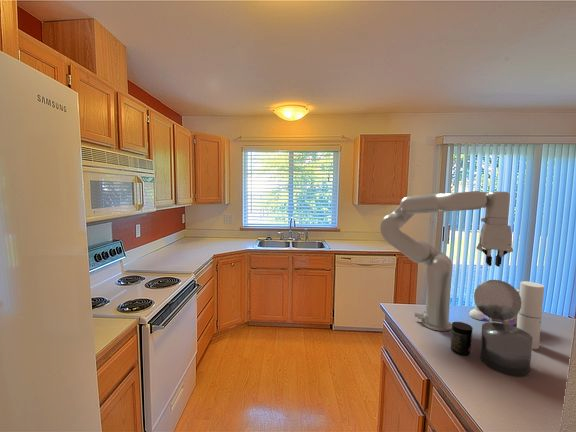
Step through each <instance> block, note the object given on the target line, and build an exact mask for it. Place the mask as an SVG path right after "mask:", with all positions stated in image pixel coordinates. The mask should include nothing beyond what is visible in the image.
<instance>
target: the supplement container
mask: <svg viewBox="0 0 576 432" xmlns="http://www.w3.org/2000/svg"><path fill="white" fill-rule="evenodd" d="M451 324H452V329H451V334H450V335H451V336H450V350H451V351H452V352H453V354H456V355H458V356H462V357H468V356H470V355H471V354H472V343H473V341H472V340H473V326H472V325H471V324H468V323H466V322H461V321H454V322H451Z"/></svg>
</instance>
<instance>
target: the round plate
mask: <svg viewBox="0 0 576 432" xmlns="http://www.w3.org/2000/svg"><path fill="white" fill-rule="evenodd" d="M516 289H517V288H515V286H513V285H512V284H510V283H508V282H506V281H504V280H499V279H489V280H485V281H483V282H481V283H480V284H478V286H477V287H476V288H475V289H474V293H473V300H474V304H475V306H477V308H478V309H479V310H480V311H481V312H482V313H483V314H484V315H485V317H488V318H489V317H490V318H491V321H495V322H503V323H505V320H508V319H511V318H513V317H515V316H516V315H517V314H518V313H519V311H520V309H521V304H522V302H521V297H520V295H519V293H518V292H517V290H516Z"/></svg>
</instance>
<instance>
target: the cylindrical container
mask: <svg viewBox="0 0 576 432" xmlns="http://www.w3.org/2000/svg"><path fill="white" fill-rule="evenodd" d="M519 290H520V293H519V295H520V297H521V302H522V304H521V309H520V311H519V313H518V317H517V325H516V328H519V329H521V330H523V331H525V332H527V333H528V334H530V335H531V336H532V350H537V349H540V338H541V329H542V328H541V327H542V318H543V316H542V315H543V306H544V305H543V303H544V295H545V294H544V293H545V285H544V284H542V283H538V282H533V281H527V280H526V281H525V280H524V281H520V283H519Z"/></svg>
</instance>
